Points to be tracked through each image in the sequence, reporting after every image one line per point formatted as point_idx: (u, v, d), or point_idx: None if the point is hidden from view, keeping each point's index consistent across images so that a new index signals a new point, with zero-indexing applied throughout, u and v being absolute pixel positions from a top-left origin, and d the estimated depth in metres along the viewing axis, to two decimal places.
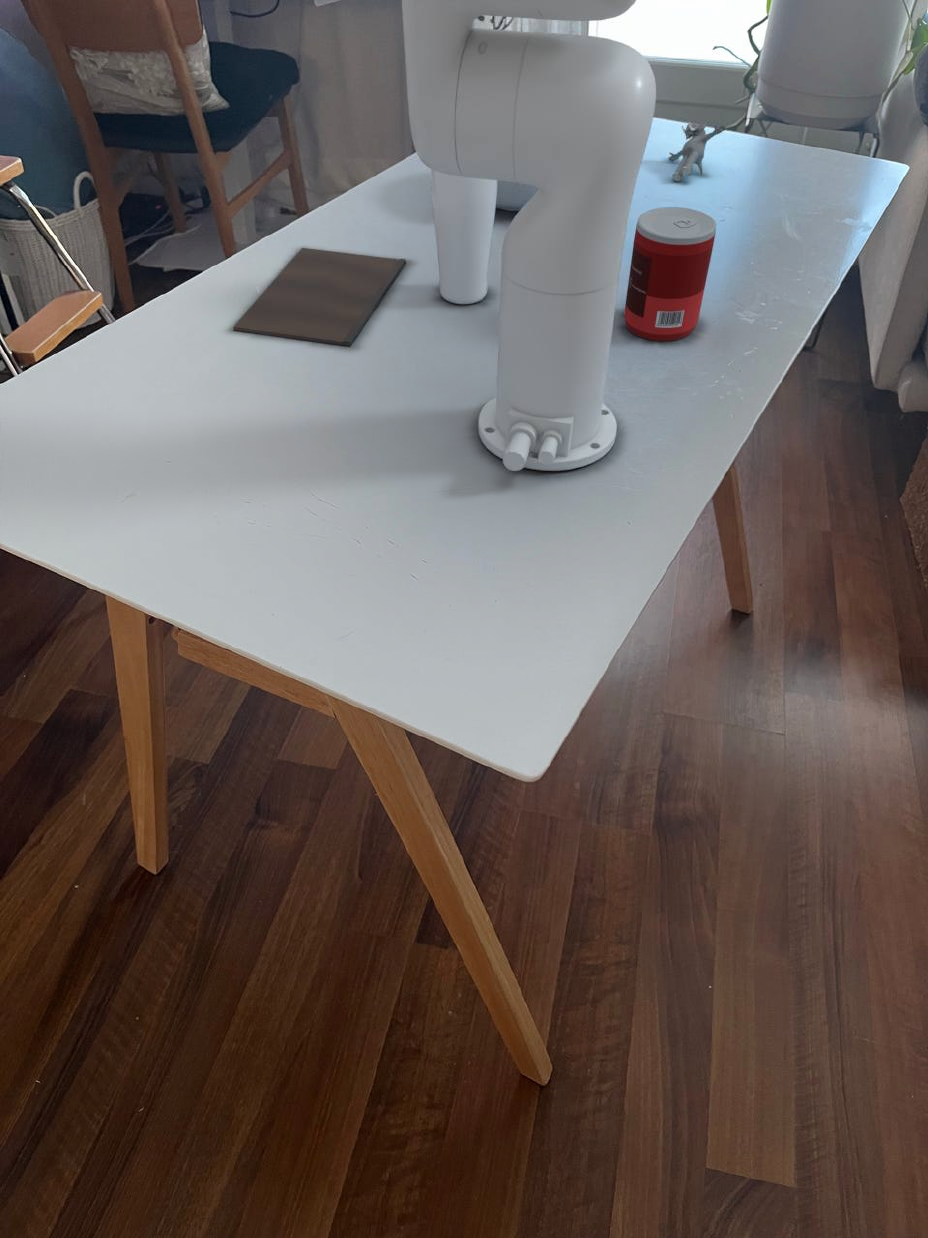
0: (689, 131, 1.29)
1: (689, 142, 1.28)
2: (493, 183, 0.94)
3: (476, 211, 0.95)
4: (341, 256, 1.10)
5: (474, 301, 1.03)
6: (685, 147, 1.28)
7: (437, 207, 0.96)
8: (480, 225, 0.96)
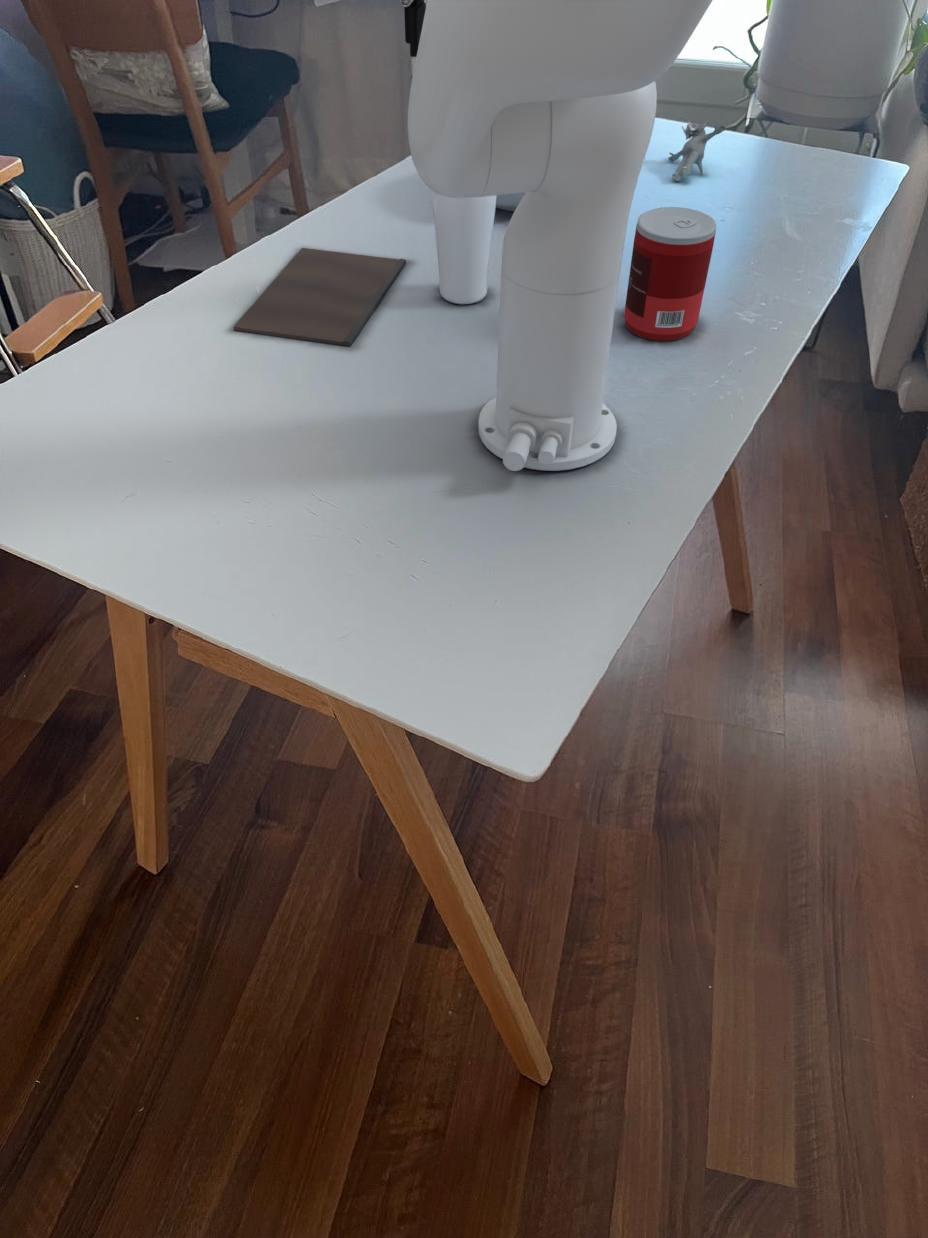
0: (689, 131, 1.29)
1: (689, 142, 1.28)
2: None
3: (476, 211, 0.95)
4: (341, 256, 1.10)
5: (474, 301, 1.03)
6: (685, 147, 1.28)
7: (437, 207, 0.96)
8: (480, 225, 0.96)
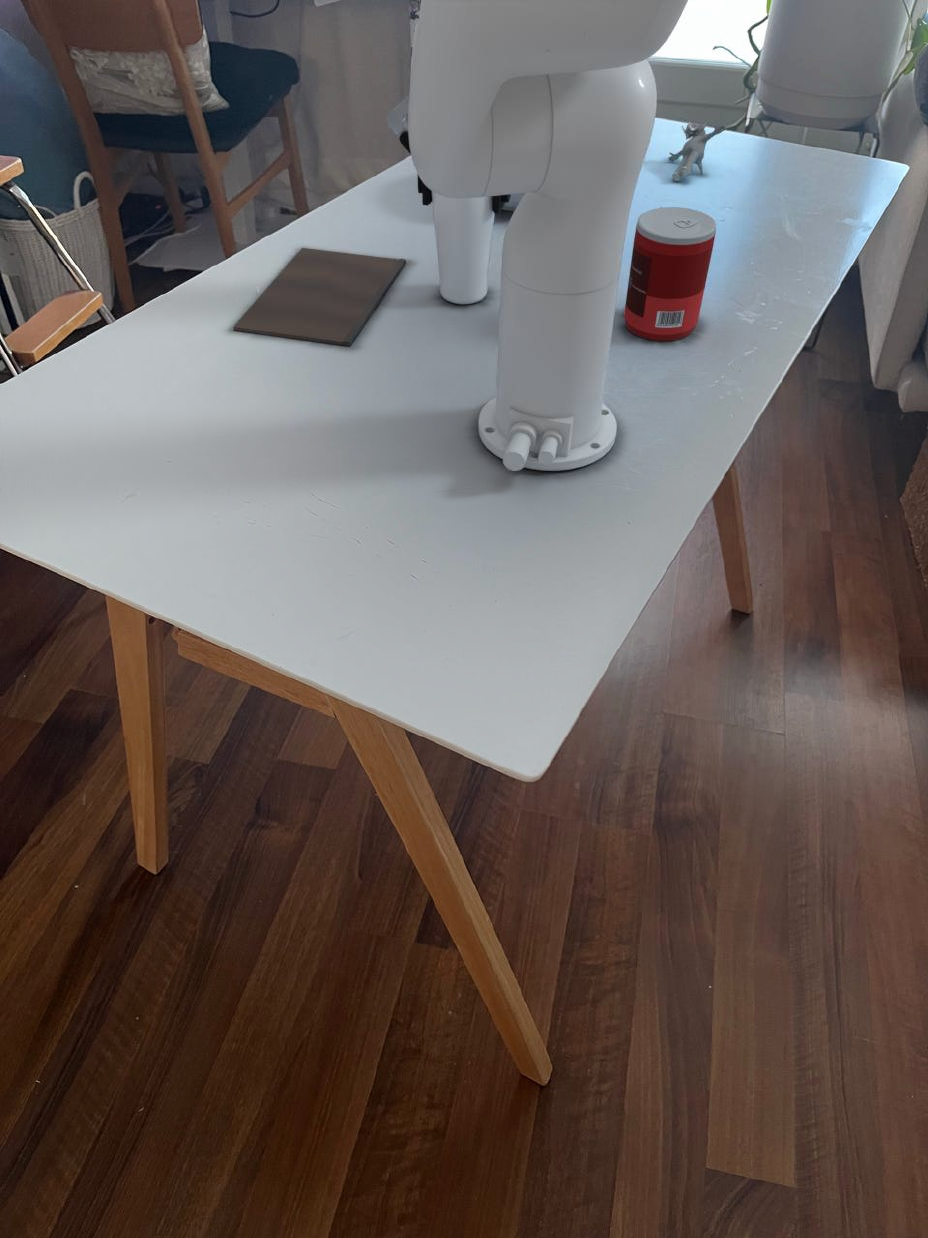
0: (689, 131, 1.29)
1: (689, 142, 1.28)
2: None
3: (476, 211, 0.95)
4: (341, 256, 1.10)
5: (474, 301, 1.03)
6: (685, 147, 1.28)
7: (437, 207, 0.96)
8: (480, 225, 0.96)
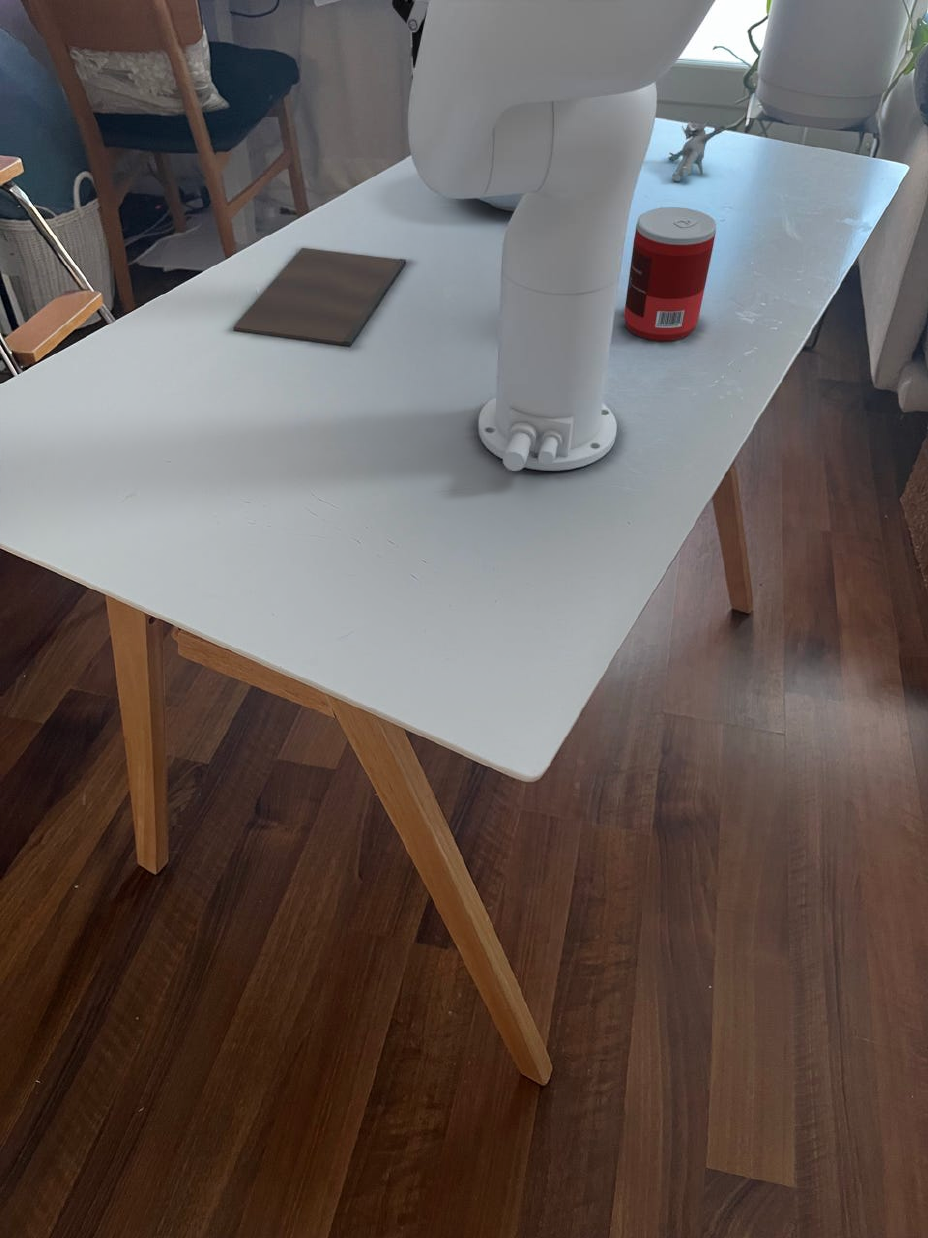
0: (689, 131, 1.29)
1: (689, 142, 1.28)
2: None
3: None
4: (341, 256, 1.10)
5: None
6: (685, 147, 1.28)
7: None
8: None
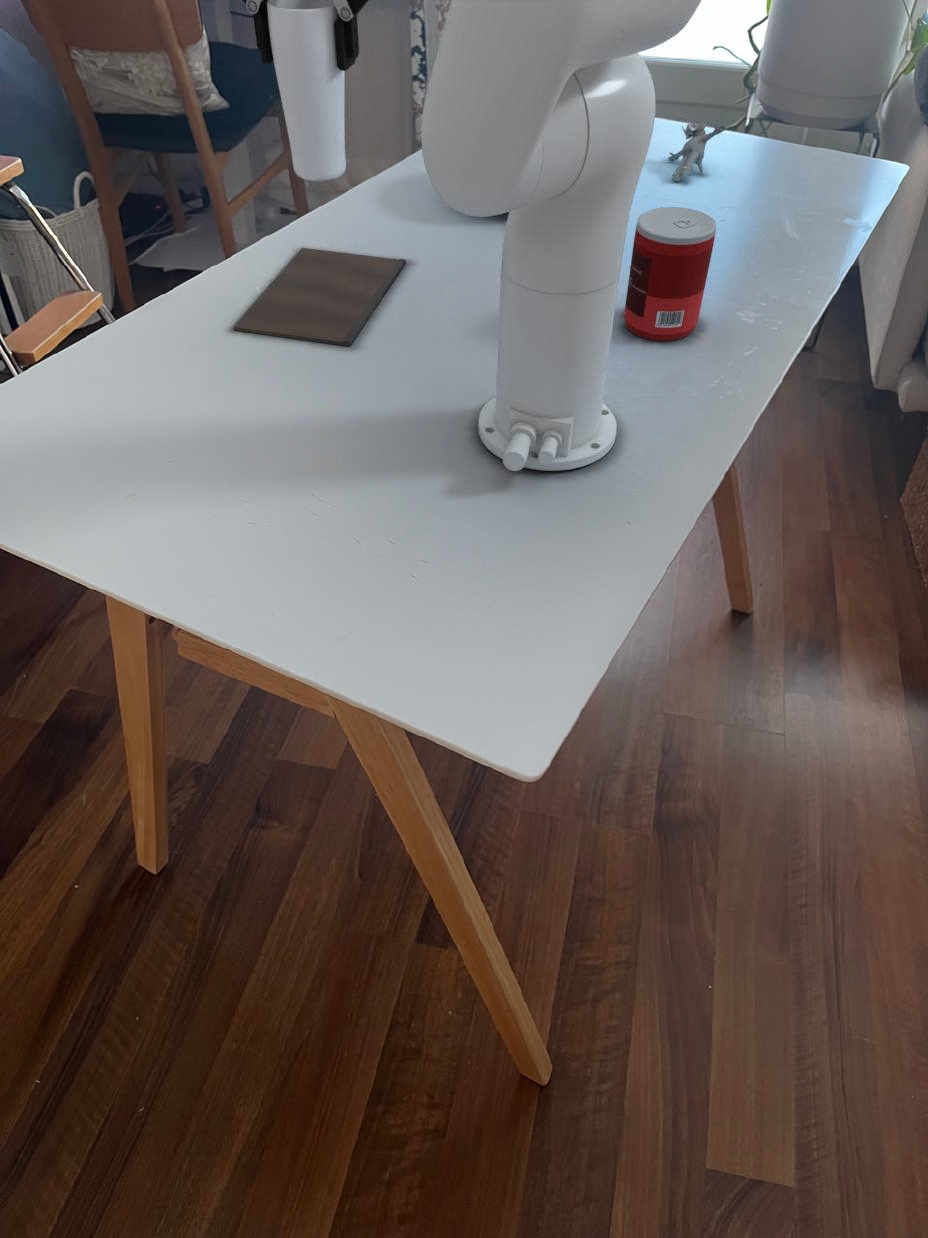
0: (689, 131, 1.29)
1: (689, 142, 1.28)
2: None
3: (318, 66, 0.85)
4: (341, 256, 1.10)
5: (330, 178, 0.93)
6: (685, 147, 1.28)
7: (276, 63, 0.86)
8: (325, 84, 0.87)
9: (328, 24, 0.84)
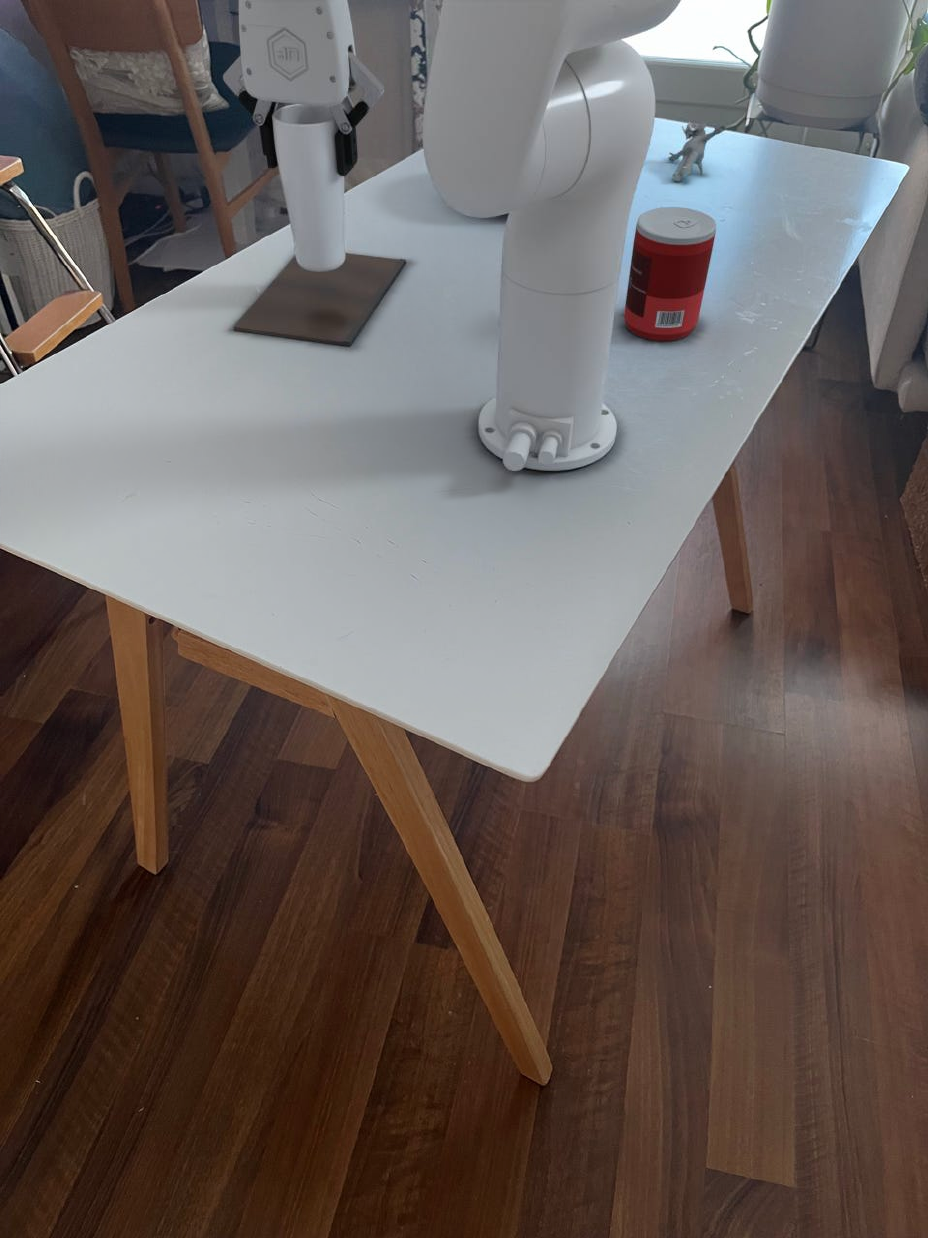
0: (689, 131, 1.29)
1: (689, 142, 1.28)
2: None
3: (320, 173, 0.92)
4: None
5: (330, 269, 1.00)
6: (685, 147, 1.28)
7: (281, 169, 0.93)
8: (326, 188, 0.93)
9: (329, 136, 0.90)
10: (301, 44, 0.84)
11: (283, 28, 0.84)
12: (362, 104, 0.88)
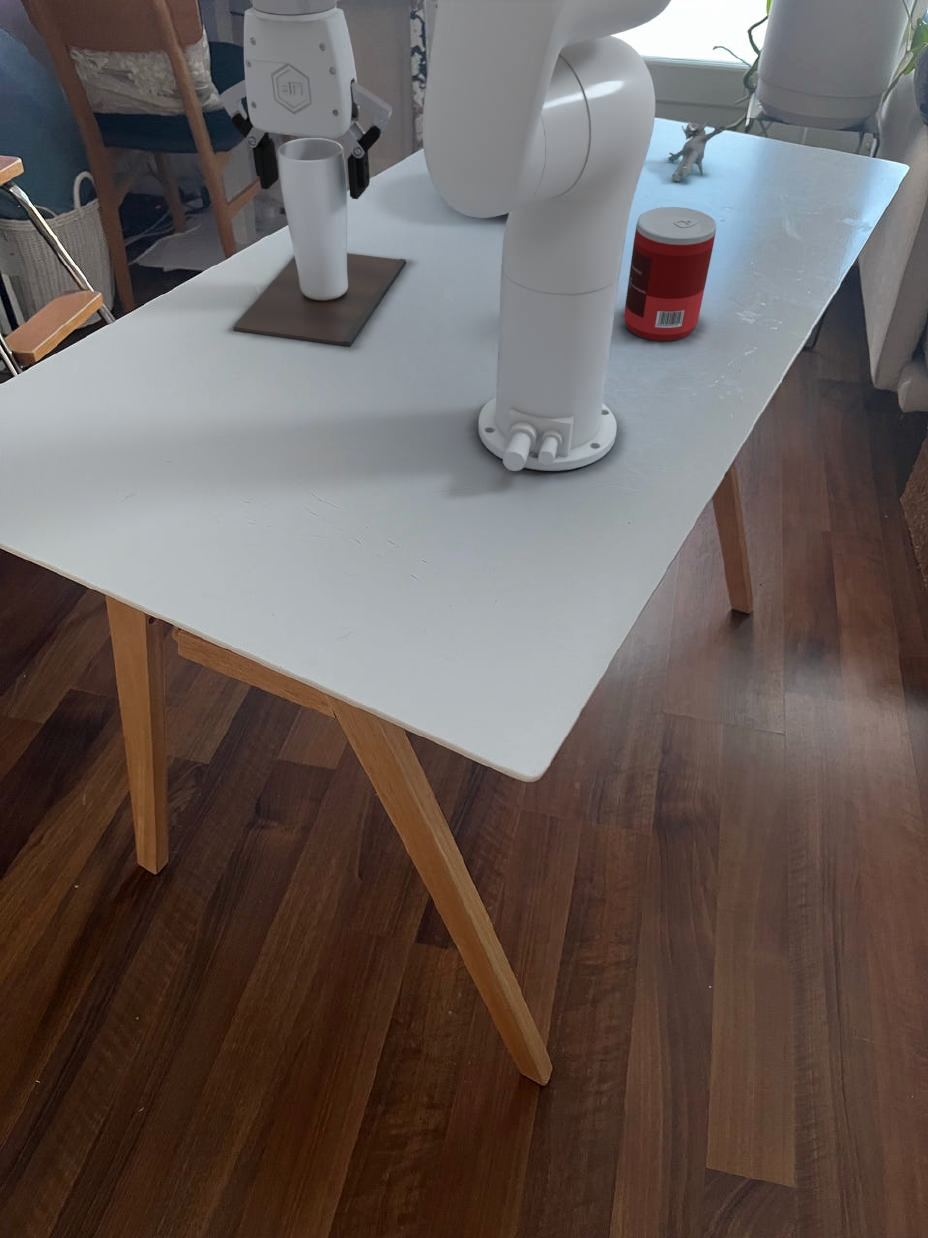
0: (689, 131, 1.29)
1: (689, 142, 1.28)
2: (339, 178, 0.94)
3: (323, 206, 0.94)
4: None
5: (333, 298, 1.02)
6: (685, 147, 1.28)
7: (286, 202, 0.95)
8: (329, 221, 0.96)
9: (333, 171, 0.93)
10: (304, 79, 0.86)
11: (286, 63, 0.86)
12: (374, 129, 0.90)
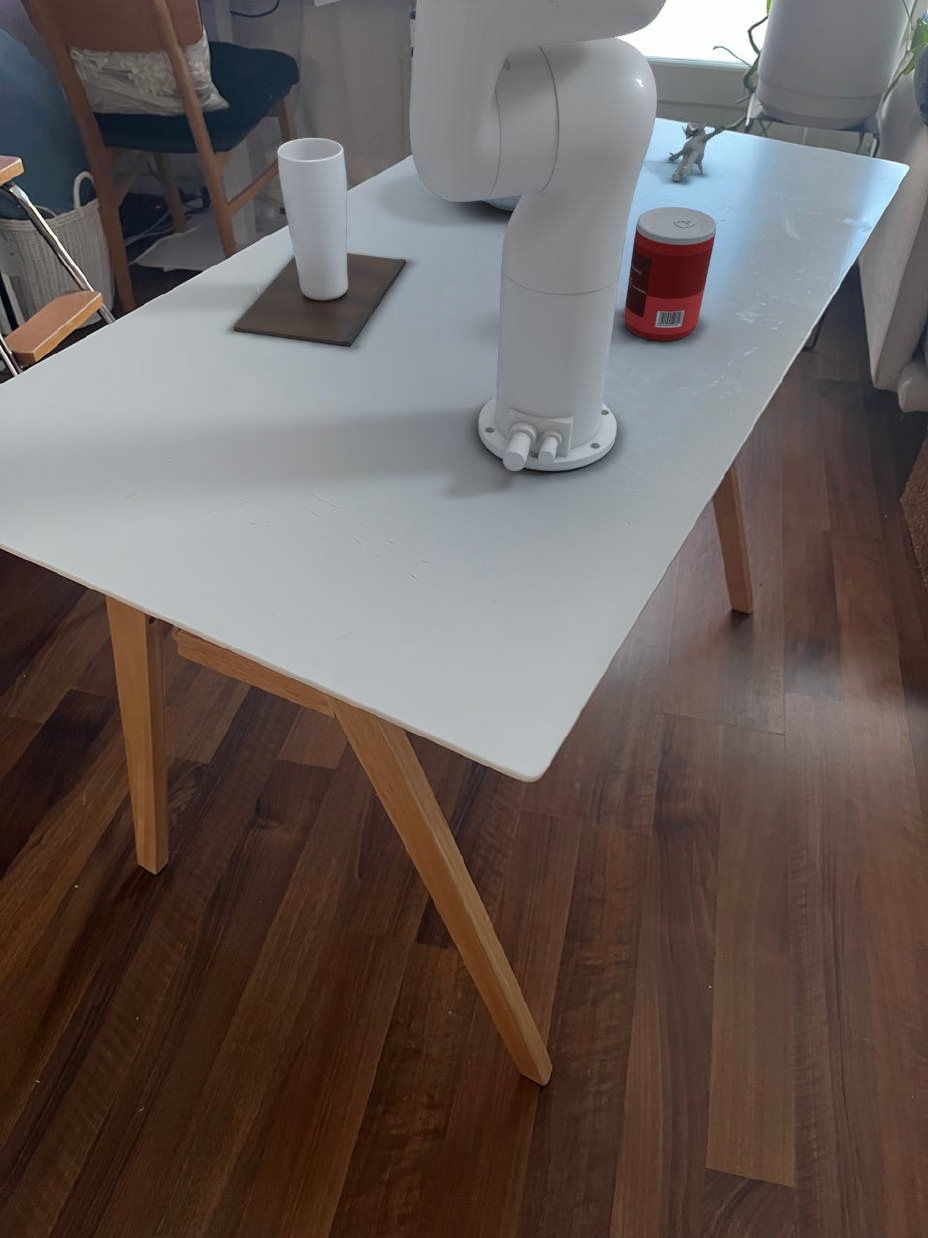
0: (689, 131, 1.29)
1: (689, 142, 1.28)
2: (339, 178, 0.94)
3: (323, 206, 0.94)
4: None
5: (333, 298, 1.02)
6: (685, 147, 1.28)
7: (286, 202, 0.95)
8: (330, 221, 0.96)
9: (333, 171, 0.93)
10: None
11: None
12: None
